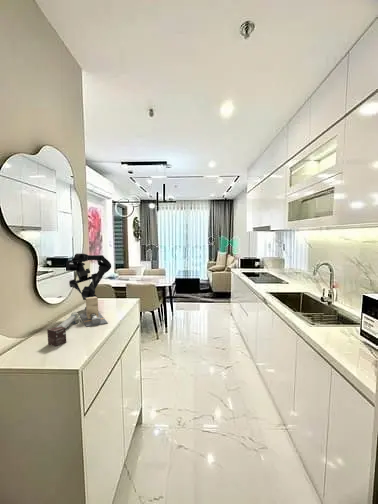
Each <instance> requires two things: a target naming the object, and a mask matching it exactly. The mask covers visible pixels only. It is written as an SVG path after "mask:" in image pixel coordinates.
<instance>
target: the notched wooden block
mask: <svg viewBox="0 0 378 504" xmlns="http://www.w3.org/2000/svg"><path fill="white" fill-rule="evenodd" d="M85 307H86V308H85V313H86V314H87V318H88V319H91V314H93V313H94V314H95V315H96V316H97V317H99V315H98V311H99V298H98V296H97V297H89V298H86V300H85Z"/></svg>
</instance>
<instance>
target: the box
mask: <svg viewBox="0 0 378 504" xmlns="http://www.w3.org/2000/svg"><path fill="white" fill-rule="evenodd" d="M57 326H58V325H57ZM57 326H54V327H52V328H48V329H47V331H46V332H47V345H50V346H53V347H58V346H60V345H63V344H65V343H67V328H64V327H59V326H58V327H57Z"/></svg>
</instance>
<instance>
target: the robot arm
mask: <svg viewBox="0 0 378 504" xmlns="http://www.w3.org/2000/svg"><path fill="white" fill-rule="evenodd" d="M88 261H97V265H98V270H97V272H95V273H91V271H90V270H91V269H90V268H86V269H85V267H84V266H85V265H86V263H85V262H88ZM111 269H112V263H111V262H110V261H109V260H108V259H107V258H106V257H105V256H104V255H102V254H96V255H93V254H87V253H75V254H74V257H73V258H71V260H66V272H76V275H77V278H78V279H77V280H76V279H75V278H74V279H70V280H69V282H68V283H69V284H68V285H69V287H70V288H72V289H75V290H76V291H78V293H79V294H81V298H82V300H83V301H86V298H89V297H97V298H98V296H97V295H96V288H97V286H98V285H99V283H100V282H101V280H102V279H103V277H104V276H105V274H106V273H107V272H109V271H110V270H111ZM90 273H91V274H90ZM89 274H90V275H91V276H89ZM89 280H91V282H90V284H89V285H88V286H86V285H85V286H84V287H83V289H81V288H80V286H79V283H82V282H84V283H85V282H86V281H89ZM84 308H85V309H86V306H85V307H84Z"/></svg>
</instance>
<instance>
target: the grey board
mask: <svg viewBox="0 0 378 504" xmlns="http://www.w3.org/2000/svg"><path fill="white" fill-rule="evenodd" d="M98 315H99V317H97V316H96V315H95V314H94V313H93V314H91V319H88V318H87V314H86V312H85V313H80V314H79V317H80V318H81V320H82V322H83V323H84V325H85V327H86V328H88V327H94V326H101V325H106V324H109V322H108V321H107V320H106V319H105V318H104V316H103V315H102V314H101V313H100V311H99V310H98Z"/></svg>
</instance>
